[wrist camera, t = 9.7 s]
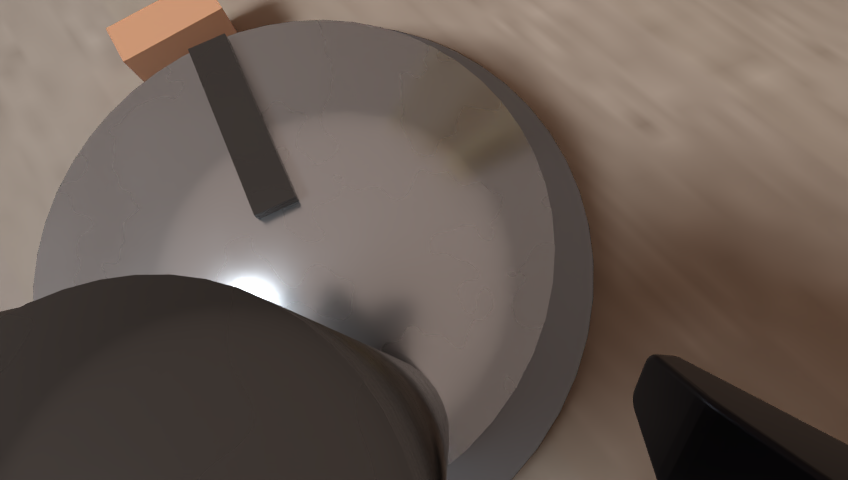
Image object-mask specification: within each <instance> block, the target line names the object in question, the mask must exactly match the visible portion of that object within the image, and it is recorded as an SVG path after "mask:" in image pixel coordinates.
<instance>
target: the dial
mask: <svg viewBox="0 0 848 480" xmlns="http://www.w3.org/2000/svg"><path fill="white" fill-rule="evenodd" d="M188 51H189V53H188V54H186V55H184V56H182V57H181V58H179V59H177V60H176V61H174V62H173V63H171V64H169V65H168V66H166V67H165V68H163V69H162V70H160V71H158V72H157V73H155V74H154V75H153V76H152V77H150V78H149V79H148V80H146V81H145V82H144V83H143V84H141V85H140V86H139V87H137V88H136V89H135V90H134V91H132V92H131V93H130V94H129V95H128V96H127V97H126V98H125V99H124V100H123V101H122V102H121V103H120V104H119V105H118V106H117V107H116V108H115V109H114V110H113V111H112V112H111V113H110V114H109V115H108V116H107V117H106V118H105V119H104V121H103V122H102V123H101V124H100V125H99V127H98V128H97V129H96V130H95V131H94V133H93V134H92V135H91V136H90V137H89V139H88V140H87V142H86V143H85V145H84V146H83V148H82V149H81V151H80V152H79V154H78V155H77V157H76V158H75V160H74V161H73V163H72V164H71V166H70V168H69V170H68V172H67V174H66V176H65V178H64V180H63V181H62V183H61V185H60V187H59V189H58V191H57V193H56V196H55V198H54V201H53V204H52V206H51V209H50V212H49V214H48V217H47V219H46V222H45V226H44V230H43V234H42V238H41V242H40V246H39V250H38V254H37V261H36V269H35V278H34V286H33V299H34V301H33V302H30V303H27V304H26V305H24V306H22V307H20V308H18V309H16V310H14V311H12V312H10V313H9V314H7V315H5V316H3V317H1V318H0V480H447V466H448V465H449V464H451V463H452V462H453V461H454V460H455V459H457V458H458V457H459V456H460V455H461V454H463V453H464V452H465V451H466V450H467V449H468V448H469V447H470V446H471V445H472V444H473V443H474V441H475V440H476V439H477V438H478V437H479V436H480V435H481V434H482V433H483V432H484V430H485V429H486V428H487V427H488V426H489V425H490V424H491V423H492V422H493V421H494V419H495V418H496V416H497V415H498V413H499V412H500V411H501V409H502V408H503V406H504V405H505V403H506V402H507V400H508V399H509V398H510V396H511V395H512V393H513V392H514V390H515V389H516V387H517V385H518V383H519V381H520V379H521V377H522V375H523V373H524V372H525V370H526V368H527V366H528V364H529V362H530V360H531V358H532V356H533V354H534V351H535V348H536V345H537V342H538V339H539V337H540V334H541V331H542V328H543V325H544V322H545V319H546V315H547V310H548V305H549V300H550V295H551V290H552V285H553V273H554V256H555V242H554V229H553V217H552V211H551V206H550V202H549V197H548V193H547V188H546V184H545V181H544V178H543V175H542V173H541V170H540V167H539V165H538V162H537V159H536V157H535V154H534V152H533V150H532V148H531V146H530V144H529V143H528V141H527V139H526V137H525V135H524V133H523V131H522V130H521V128H520V126H519V125H518V123H517V122H516V120H515V119H514V118H513V116H512V115H511V114H510V112H509V111H508V109H507V108H506V107H505V105H504V104H503V103H502V101H501V100H500V99H499V98H498V97H497V96H496V95H495V94H494V93H493V92H492V91H491V90H490V89H489V88H488V87H487V86H486V85H485V84H484V83H483V82H482V81H481V80H480V79H479V78H478V77H476V76H475V75H474V74H473V73H471V72H470V71H469V70H468V69H466V68H465V67H464V66H463V65H461V64H460V63H459V62H457V61H456V60H454V59H452V58H451V57H449V56H447V55H446V54H444V53H442V52H441V51H439V50H437V49H436V48H434V47H432V46H430V45H427V44H425V43H423V42H421V41H419V40H416V39H414V38H412V37H410V36H407V35H404V34H401V33H397V32H394V31H391V30H388V29H385V28H381V27H376V26H371V25H366V24H360V23H355V22H345V21H331V20H311V21H292V22H286V23H279V24H272V25H265V26H262V27H258V28H254V29H250V30H246V31H242V32H238V33H235V34H233V35H230V36H226V34H225V33H224V34H222V35H220V36H217V37H215V38H213V39H210V40H208V41H206V42H203V43H201V44H199V45H196V46H194V47H192V48H189V49H188Z"/></svg>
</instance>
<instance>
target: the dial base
mask: <svg viewBox="0 0 848 480" xmlns="http://www.w3.org/2000/svg"><path fill="white" fill-rule="evenodd" d="M106 30H107V32H108V34H109V35H110V37H111V39H112V41H113V43H114V45H115V47H116V49H117V50H118V52H119V54H120V56H121V58H122V60H123V62H124V63H125V64H126V65H128V66H129V67H130V68H131V69H132V70H133V71H134V72H135V73H136V74H137V75H138V76H139V77H140V78H141V79H142V80H143V81H144V82H145V81H146V80H148V79H149V78H150V77H152V76H153V75H154V74H155V73H157V72H158V71H160V70H162V69H163V68H165V67H166V66H168V65H169V64H171V63H173V62H174V61H176V60H177V59H179V58H181V57H182V56H184V55H186V54H188V53H189V51H188V49H189V48H192V47H194V46H196V45H199V44H201V43H203V42H206V41H208V40H210V39H213V38H215V37H217V36H220V35H222V34H224V33H225V34H226V36H230V35H233V34H235V33H237V32H236V30H235V28H234V27H233V25H232V23H231V22H230V20H229V19H228V17H227V15H226V14H225V12H224V10H223V9H222V7H221V6H220V4H219V3H218V1H217V0H158V1H156V2H154V3H152V4H151V5H149V6H147V7H145V8H143V9H141V10H139V11H137V12H136V13H134V14H132V15H130V16H128V17H126V18H124V19H122V20H121V21H119V22H117V23H115V24H113V25H111V26H109V27H107V28H106ZM388 30H389V29H388ZM391 31H394V32H397V33H401V34H404V35H407V36H410V37H412V38H414V39H416V40H419V41H421V42H423V43H425V44H427V45H430V46H432V47H434V48H436V49H437V50H439V51H441V52H442V53H444V54H446V55H447V56H449V57H451V58H452V59H454V60H456V61H457V62H459V63H460V64H461V65H463V66H464V67H465V68H466V69H468V70H469V71H470V72H471V73H473V74H474V75H475V76H476V77H478V78H479V79H480V80H481V81H482V82H483V83H484V84H485V85H486V86H487V87H488V88H489V89H490V90H491V91H492V92H493V93H494V94H495V95H496V96H497V97H498V98H499V99H500V100H501V101H502V103H503V104H504V105H505V107H506V108H507V109H508V111H509V112H510V114H511V115H512V116H513V118H514V119H515V120H516V122H517V123H518V125H519V126H520V128H521V130H522V131H523V133H524V135H525V137H526V139H527V141H528V143H529V144H530V146H531V148H532V150H533V152H534V154H535V157H536V159H537V162H538V165H539V167H540V170H541V173H542V175H543V178H544V181H545V184H546V188H547V193H548V197H549V202H550V206H551V211H552V217H553V229H554V242H555V256H554V273H553V285H552V290H551V295H550V300H549V305H548V310H547V315H546V319H545V322H544V325H543V328H542V331H541V334H540V337H539V339H538V342H537V345H536V348H535V351H534V354H533V356H532V358H531V360H530V362H529V364H528V366H527V368H526V370H525V372H524V373H523V375H522V377H521V379H520V381H519V383H518V385H517V387H516V389H515V390H514V392H513V393H512V395H511V396H510V398H509V399H508V400H507V402H506V403H505V405H504V406H503V408H502V409H501V411H500V412H499V413H498V415H497V416H496V418H495V419H494V421H493V422H492V423H491V424H490V425H489V426H488V427H487V428H486V429H485V430H484V432H483V433H482V434H481V435H480V436H479V437H478V438H477V439H476V440H475V441H474V443H473V444H472V445H471V446H470V447H469V448H468V449H467V450H466V451H465V452H464V453H463V454H461V455H460V456H459V457H458V458H457V459H455V460H454V461H453V462H452V463H451V464H449V465H448V466H447V480H512V478H513V477H514V476H515V475H516V474H517V472H518V471H519V470H520V469H521V468H522V466H523V465H524V464H525V463H526V462H527V460H528V459H529V458H530V457H531V456H532V454H533V453H534V452H535V451H536V450H537V448H538V447H539V445H540V443H541V442H542V440H543V439H544V437H545V435H546V434H547V432H548V431H549V429H550V427H551V426H552V424H553V423H554V421H555V419H556V418H557V416H558V415H559V413H560V411H561V409H562V406H563V404H564V402H565V400H566V397H567V395H568V393H569V391H570V388H571V386H572V384H573V382H574V379H575V377H576V375H577V371H578V368H579V364H580V361H581V358H582V354H583V351H584V347H585V344H586V340H587V337H588V330H589V323H590V316H591V309H592V303H593V254H592V247H591V239H590V231H589V225H588V221H587V217H586V214H585V210H584V206H583V203H582V199H581V195H580V192H579V189H578V187H577V185H576V182H575V180H574V177H573V175H572V173H571V170H570V168H569V166H568V163H567V161H566V159H565V158H564V156H563V154H562V152H561V151H560V149H559V147H558V146H557V144H556V142H555V141H554V139H553V137H552V136H551V134H550V132H549V131H548V130H547V128H546V127H545V126H544V125H543V123H542V122H541V121H540V120H539V118H538V117H537V116H536V115H535V113H534V112H533V111H532V110H531V108H530V107H529V106H528V105H527V104H526V103H525V102H524V101H523V100H522V99H521V98H520V97H519V96H518V95H517V94H516V93H515V92H513V91H512V90H511V89H510V88H509V87H508V86H507V85H506V84H505V83H504V82H502V81H501V80H500V79H498V78H497V77H495V76H494V75H493V74H491V73H490V72H489V71H487V70H486V69H485V68H483V67H482V66H480V65H479V64H477V63H475V62H473V61H472V60H470V59H468V58H466V57H465V56H463V55H461V54H459V53H458V52H456V51H454V50H451V49H449V48H447V47H444V46H442V45H439V44H437V43H435V42H432V41H430V40H427V39H424V38H421V37H417V36H414V35H410V34H407V33H403V32H399V31H395V30H391Z"/></svg>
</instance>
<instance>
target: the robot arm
mask: <svg viewBox="0 0 848 480" xmlns="http://www.w3.org/2000/svg"><path fill="white" fill-rule="evenodd" d="M19 308H20V307H19ZM16 309H18V308H15V309H10V310H6V311H2V312H0V318H1V317H3V316H5V315H7V314H9V313H10V312H12V311H14V310H16ZM633 405H634V410H635V413H636V416H637V419H638V422H639V426H640V429H641V432H642V435H643V438H644V441H645V444H646V447H647V450H648V453H649V457H650V460H651V463H652V466H653V469H654V472H655V475H656V478H657V480H848V445H847V444H845V443H843V442H841V441H839V440H837V439H835V438H833V437H832V436H830V435H828V434H826V433H824V432H822V431H820V430H818V429H816V428H814V427H812V426H810V425H808V424H806V423H805V422H803V421H801V420H799V419H797V418H795V417H793V416H791V415H789V414H787V413H785V412H783V411H781V410H779V409H778V408H776V407H774V406H772V405H770V404H768V403H766V402H764V401H762V400H760V399H758V398H756V397H754V396H752V395H751V394H749V393H747V392H745V391H743V390H741V389H739V388H737V387H735V386H733V385H731V384H729V383H727V382H726V381H724V380H722V379H720V378H718V377H716V376H714V375H712V374H710V373H708V372H706V371H704V370H702V369H700V368H699V367H697V366H695V365H693V364H691V363H689V362H687V361H685V360H683V359H681V358H679V357H676V356H669V355H658V354H654V355H651V356H650V357H649V358H648V359H647V361H646V363H645V365H644V368H643V370H642V373H641V375H640V378H639V380H638V383H637V385H636V387H635V390H634V395H633Z"/></svg>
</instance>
